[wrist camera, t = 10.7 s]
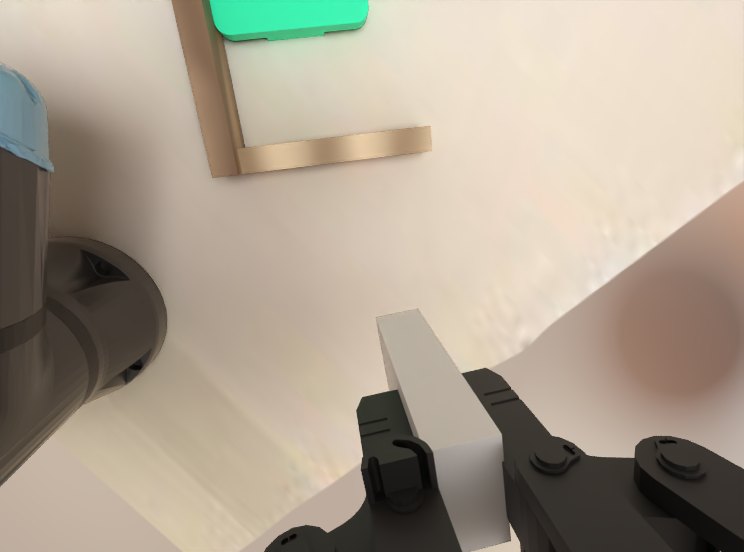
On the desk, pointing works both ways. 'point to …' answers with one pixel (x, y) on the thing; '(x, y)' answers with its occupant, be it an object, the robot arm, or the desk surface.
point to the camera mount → (286, 17)
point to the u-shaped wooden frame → (223, 119)
